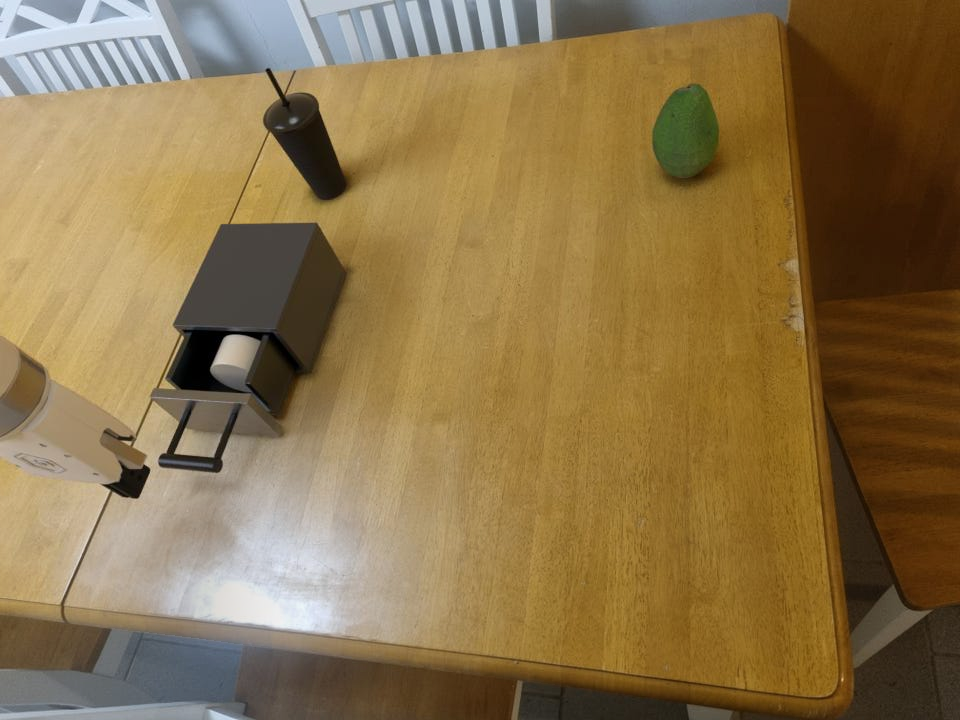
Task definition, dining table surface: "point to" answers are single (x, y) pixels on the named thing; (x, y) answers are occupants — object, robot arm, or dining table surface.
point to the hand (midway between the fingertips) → (137, 483)
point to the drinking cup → (305, 140)
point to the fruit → (686, 132)
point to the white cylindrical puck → (234, 361)
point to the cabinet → (267, 286)
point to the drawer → (223, 395)
